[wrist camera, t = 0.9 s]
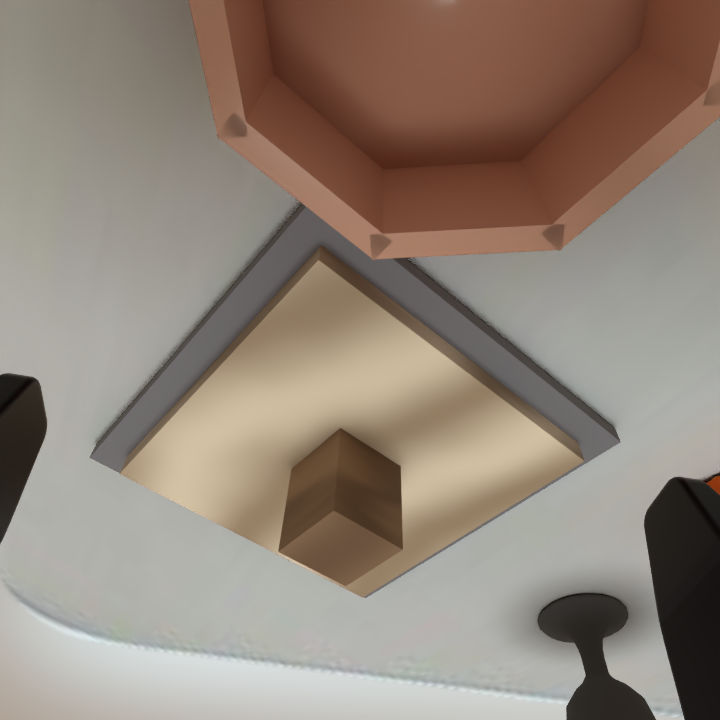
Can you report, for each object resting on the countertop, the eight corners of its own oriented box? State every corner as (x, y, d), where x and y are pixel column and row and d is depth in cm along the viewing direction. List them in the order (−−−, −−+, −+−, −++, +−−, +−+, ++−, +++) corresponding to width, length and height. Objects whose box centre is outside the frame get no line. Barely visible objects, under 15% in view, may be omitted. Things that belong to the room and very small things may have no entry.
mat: (614, 428, 26) (620, 441, 25) (365, 584, 34) (365, 598, 33) (317, 186, 20) (314, 196, 19) (96, 444, 28) (89, 457, 27)
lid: (578, 443, 26) (613, 546, 22) (363, 579, 32) (360, 678, 28) (321, 245, 20) (305, 332, 16) (127, 456, 27) (82, 555, 23)
